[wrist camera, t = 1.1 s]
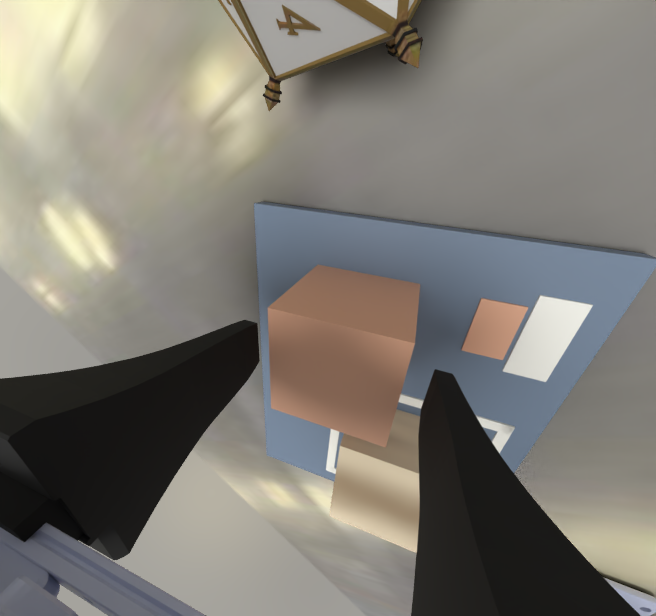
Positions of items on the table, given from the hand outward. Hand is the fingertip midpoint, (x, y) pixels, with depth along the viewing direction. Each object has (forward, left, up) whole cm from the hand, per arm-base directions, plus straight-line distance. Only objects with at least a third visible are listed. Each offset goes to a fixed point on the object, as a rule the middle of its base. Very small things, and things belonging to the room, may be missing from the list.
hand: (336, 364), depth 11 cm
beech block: (-9, -4, -4) cm, 11 cm away
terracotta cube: (0, 0, -4) cm, 4 cm away
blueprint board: (-5, -2, -5) cm, 7 cm away
